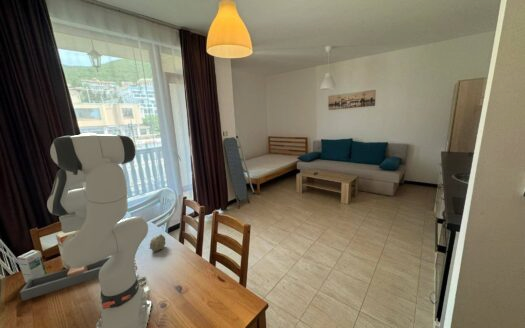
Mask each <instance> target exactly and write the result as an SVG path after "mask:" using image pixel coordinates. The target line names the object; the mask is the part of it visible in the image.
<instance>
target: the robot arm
mask: <svg viewBox="0 0 525 328" xmlns="http://www.w3.org/2000/svg"><path fill="white" fill-rule="evenodd" d="M49 151H50V158H51V159H52V161H53V162H54V163H55V164H56V165H57V167H58V168H59V170H57V173H56V174H55V178H54V181H53V183H52V189H51V192H50V195H49V196H48V198H47V202H46V207H47V209H48V212H49V213H50V214H51V215H54V216H58V219H59V222H60V223H61V232H64V233H68V232H73V231H77V230H79V231H78V233H77V234H76V235H75V236H74V237H73V238H71V239H70V240H69V241H68V242H67V243H66V244H65V246H64V248H63V252H62V256H63V260H64V262H65V263H66V264H67V265H68V266H70V267H72V268H80V267H84V266H87V265H91V264H94V263H96V262H98V261H100V260H102V259H105V258H107V257H110V258H109V259H108V261H107V262H106V263H105V264H104V265H103V266H102V267H101V269H100V271H99V275H98V277H97V278H98V281H99V285H100V303H99V304H98V305H99V306H98V307H99V309H100V318H99V319H98V321H97V322H96V324H95V328H146V326H147V322H148V323H149V321H148V318H149V319H150V317H149V315H150V316H151V312H150V310H151V311H152V308H151V306H153V302H152V300H148V299H147V297H146V291H145V288H144V287H142V286H140V284H139V282H140V281H139V279H138V276H137V275H136V274H137V273H136V269H135V259H136V254H137V251H138V250H139V247H140V246H141V243H142V242H143V241H144V239H145V238H146V237H147V235H148V232H149V224H148V222H147V220H146V219H145V218H143V217H142V216H140V215H135V216H130V217H125V216H126V215H127V212H128V186H127V179H126V177H125V176H126V175H125V172H124V170H123V168H122V166H120V164H121V165H125V164H128V163H131V162H133V160H134V159H135V157H136V146H135V143H134V140H133V139H132V138H131V137H129V136H128V135H124V134H123V135H122V134H116V135H114V134H97V133H94V132H84V133H80V134H78V135H64V136H60V137H56V138H55V139H54V140H52V144H51V146H50V150H49ZM147 306H149V307H147ZM144 322H145V323H144ZM147 327H148V326H147Z"/></svg>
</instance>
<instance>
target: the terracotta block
mask: <svg viewBox="0 0 525 328" xmlns="http://www.w3.org/2000/svg"><path fill="white" fill-rule="evenodd" d="M86 271H88V268H87V266H84V267H80V268H72V267H71V268H70V269H69V271H68V273H67V276H68V277H69V276H72V275H76V274H79V273H82V272H86Z"/></svg>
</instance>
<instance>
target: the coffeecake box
mask: <svg viewBox="0 0 525 328" xmlns="http://www.w3.org/2000/svg"><path fill="white" fill-rule="evenodd" d="M78 231H79V230H77V231H73V232H68V233H64V232H62V231H61V232H59V233H56V234H55V237H56V238H55V239H56V241H57V246H58V250H59V253H60V257H61V262H62V265H63V267H64V268H65V269H68V268H71V267H70V266H68V265H67V264H66V263H65V262H64V260H63V256H62V252H63V248H64V246H65V244H66V243H67V242H68V241H69V240H70V239H71V238H73V237H74V236H75V235H76V234H77V233H78Z"/></svg>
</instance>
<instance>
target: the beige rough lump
mask: <svg viewBox="0 0 525 328" xmlns="http://www.w3.org/2000/svg"><path fill="white" fill-rule="evenodd" d="M166 243H167V242H166V237H165V236H164V235H163V234H159V235H157V236H154V237H152V239H151V240H150V243H149V249H150V250H151V251H152V252H155V251H156V252H158V251H161V250H162V249H163V248H164V247H165V245H166ZM160 249H161V250H160Z"/></svg>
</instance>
